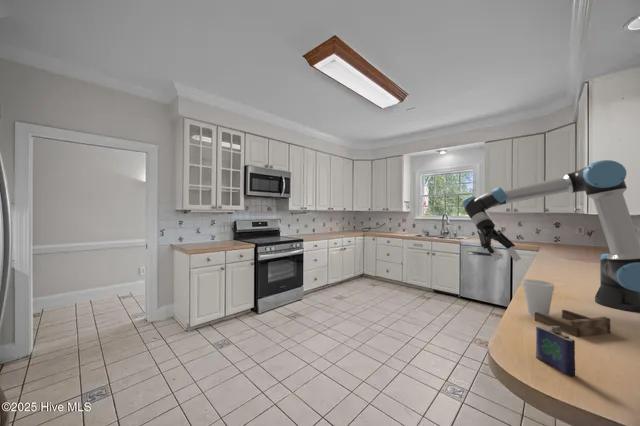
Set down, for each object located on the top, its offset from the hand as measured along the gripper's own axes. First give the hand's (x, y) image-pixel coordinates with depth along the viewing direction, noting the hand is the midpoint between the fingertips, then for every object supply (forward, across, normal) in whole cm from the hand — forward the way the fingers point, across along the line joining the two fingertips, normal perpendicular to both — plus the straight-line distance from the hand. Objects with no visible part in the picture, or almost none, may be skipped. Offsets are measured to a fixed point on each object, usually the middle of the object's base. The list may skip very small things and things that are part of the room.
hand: (508, 259), depth 117 cm
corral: (+30, +3, +6) cm, 31 cm away
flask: (+42, +38, +16) cm, 58 cm away
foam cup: (+24, +1, -2) cm, 24 cm away
